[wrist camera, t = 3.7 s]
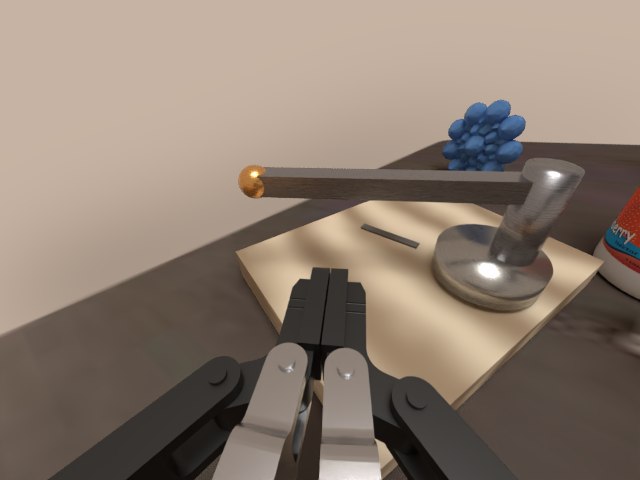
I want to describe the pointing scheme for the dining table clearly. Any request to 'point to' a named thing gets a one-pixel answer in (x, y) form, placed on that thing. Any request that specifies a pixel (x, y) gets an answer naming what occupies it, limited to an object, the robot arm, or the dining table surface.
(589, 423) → the dining table surface
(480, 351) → the stand
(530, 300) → the metal faucet
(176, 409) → the robot arm
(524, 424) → the dining table surface
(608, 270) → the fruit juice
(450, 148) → the grapes
